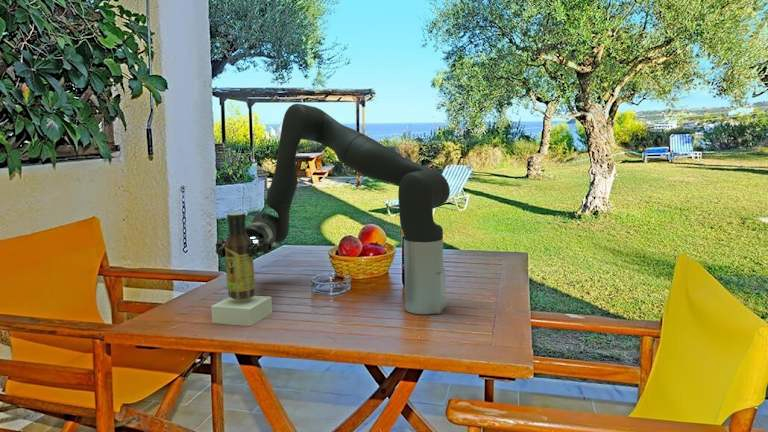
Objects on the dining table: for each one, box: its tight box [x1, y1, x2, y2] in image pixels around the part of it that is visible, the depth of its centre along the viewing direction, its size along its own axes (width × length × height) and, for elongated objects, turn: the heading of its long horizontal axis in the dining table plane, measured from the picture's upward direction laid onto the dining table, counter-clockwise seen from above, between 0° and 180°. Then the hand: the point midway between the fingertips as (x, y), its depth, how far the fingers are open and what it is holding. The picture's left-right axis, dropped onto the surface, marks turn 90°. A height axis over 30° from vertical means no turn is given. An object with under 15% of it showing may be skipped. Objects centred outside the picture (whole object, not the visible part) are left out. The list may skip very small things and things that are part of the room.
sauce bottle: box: [224, 211, 256, 299], centre depth 136 cm, size 6×6×20 cm
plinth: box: [210, 295, 273, 327], centre depth 138 cm, size 10×10×4 cm
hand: (235, 252), depth 133 cm, fingers closed on sauce bottle, 6 cm apart
